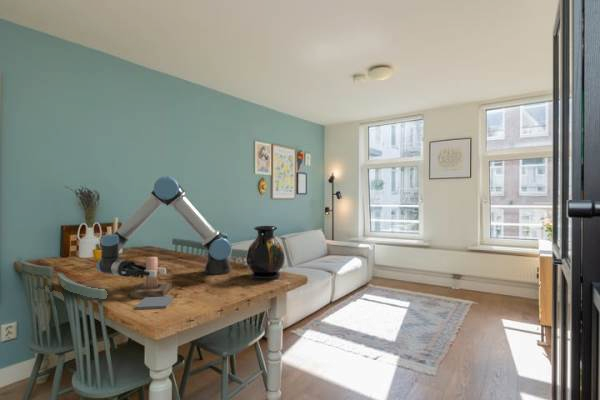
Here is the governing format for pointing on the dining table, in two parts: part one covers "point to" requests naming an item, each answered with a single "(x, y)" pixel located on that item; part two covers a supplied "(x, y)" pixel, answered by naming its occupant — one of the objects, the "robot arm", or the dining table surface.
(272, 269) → the amphora vase
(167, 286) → the walnut pocket block
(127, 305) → the dining table surface
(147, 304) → the slate mat
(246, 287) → the dining table surface
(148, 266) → the terracotta peg
